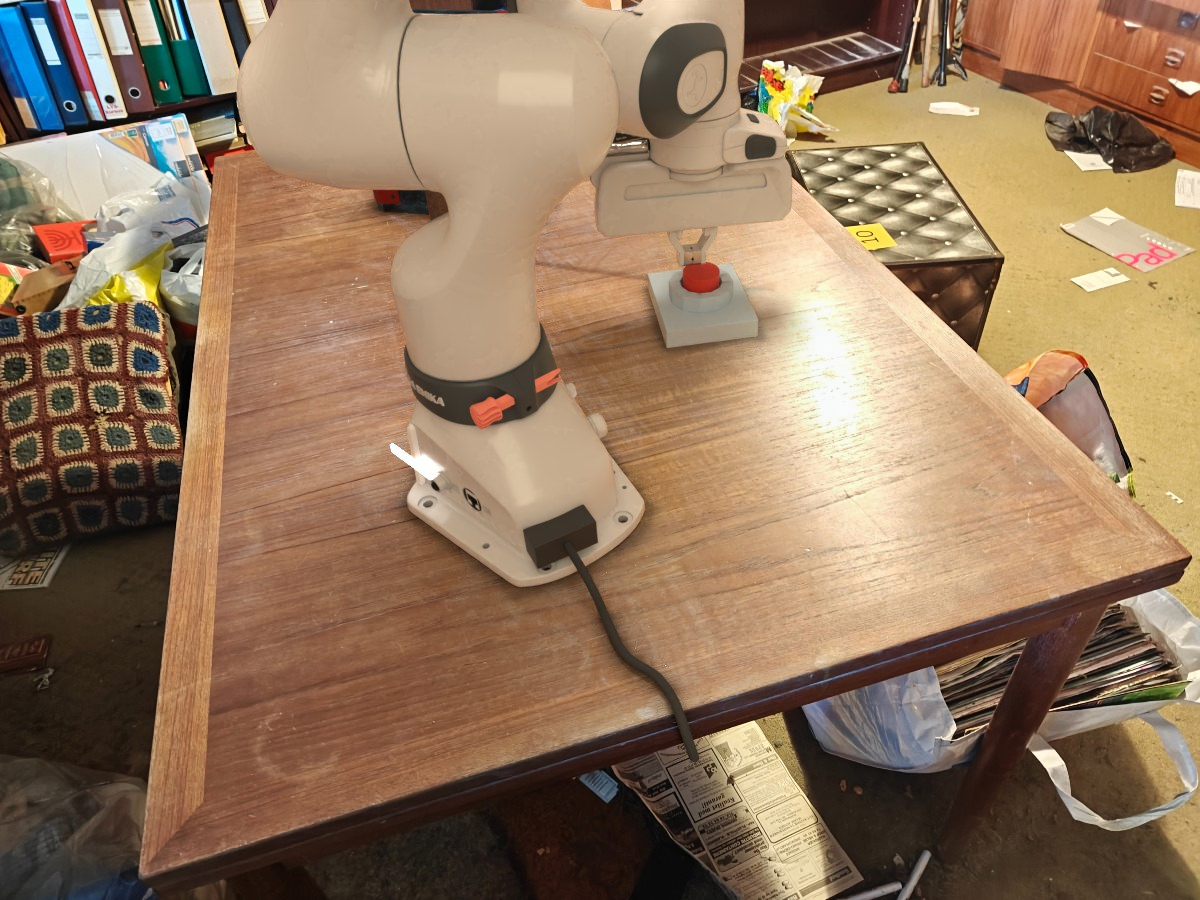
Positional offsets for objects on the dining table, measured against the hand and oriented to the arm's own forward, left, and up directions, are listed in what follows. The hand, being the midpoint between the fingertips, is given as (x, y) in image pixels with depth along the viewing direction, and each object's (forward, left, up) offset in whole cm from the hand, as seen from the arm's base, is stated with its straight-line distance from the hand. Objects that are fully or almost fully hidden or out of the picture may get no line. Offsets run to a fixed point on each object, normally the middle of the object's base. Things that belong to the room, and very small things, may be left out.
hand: (691, 262), depth 92 cm
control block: (-1, -1, -7) cm, 7 cm away
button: (-1, -1, -3) cm, 3 cm away
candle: (+29, +12, -7) cm, 32 cm away
